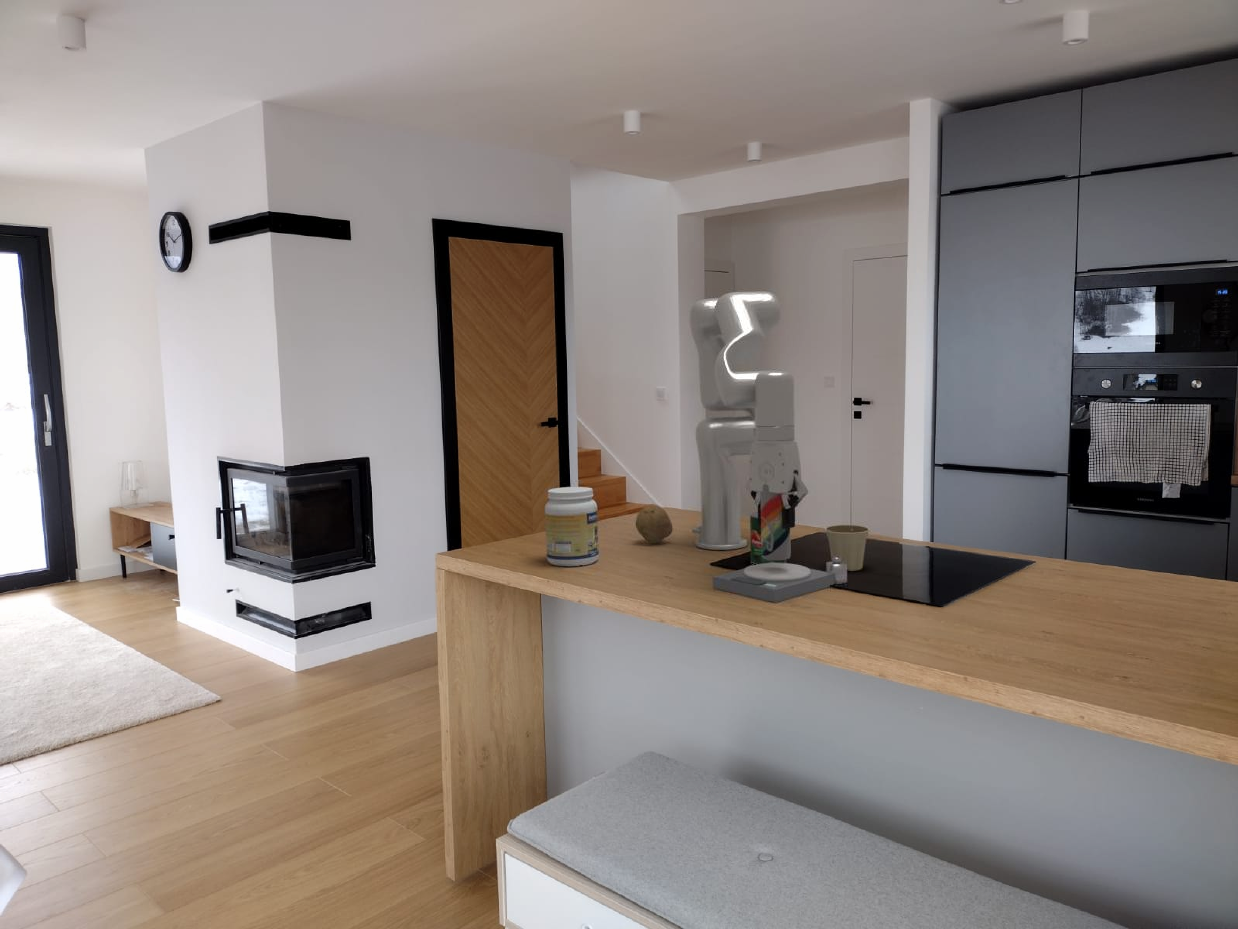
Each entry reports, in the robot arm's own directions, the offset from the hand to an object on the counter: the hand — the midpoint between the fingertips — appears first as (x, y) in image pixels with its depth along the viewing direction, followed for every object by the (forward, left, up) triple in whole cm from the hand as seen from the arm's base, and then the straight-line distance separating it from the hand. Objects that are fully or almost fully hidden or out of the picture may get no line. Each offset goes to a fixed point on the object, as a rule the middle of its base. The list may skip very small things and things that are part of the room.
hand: (776, 525), depth 175 cm
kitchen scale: (0, -1, -12) cm, 12 cm away
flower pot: (+1, +22, -13) cm, 25 cm away
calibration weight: (+7, +10, -12) cm, 17 cm away
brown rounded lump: (-51, +13, -12) cm, 54 cm away
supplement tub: (-49, -14, -13) cm, 53 cm away
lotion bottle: (0, 0, -7) cm, 7 cm away
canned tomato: (-15, +15, -13) cm, 25 cm away
